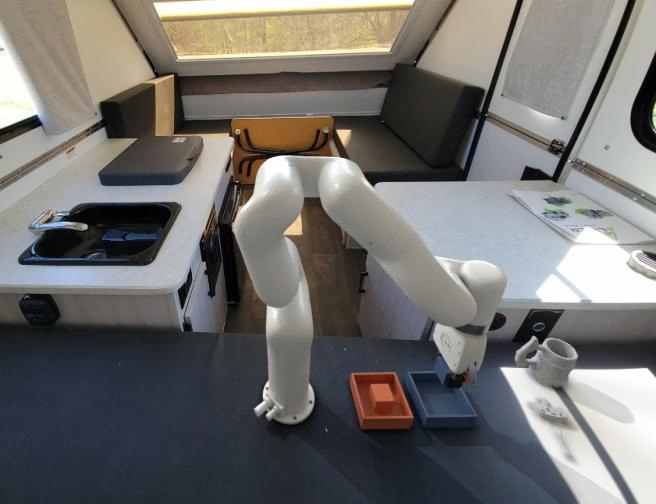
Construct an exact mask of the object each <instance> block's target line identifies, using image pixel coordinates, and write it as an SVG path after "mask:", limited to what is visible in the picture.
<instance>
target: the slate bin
mask: <svg viewBox="0 0 656 504" xmlns="http://www.w3.org/2000/svg"><path fill="white" fill-rule="evenodd" d="M404 384H405V386H406V388H407V391H408V393H409V396H410V398H411V400H412V403H413V406H414V408H415V410H416V413H417V415H418V418H419V420H420V423H421V425H422V427H423V429H437V428H438V429H441V428H442V429H443V428H474V426H475V424H476V422H477V420H478V418H479V416H478V414H477V412H476V410H475V409H474V407H473V405H472V404H471V402H470V400H469V398H468V396H467V395H466V393H465V391H464V390H463V388H462V387H463V386H462V387H461V388H459V389H454V388H447V387H446V385H442V383H441V381H440V379H439V377H438V376H437V374H436V372H435V370H430V371H429V370H428V371H427V370H426V371H425V370H423V371H421V370H419V371H407V372H406V376H405V379H404Z"/></svg>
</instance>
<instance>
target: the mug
mask: <svg viewBox="0 0 656 504" xmlns="http://www.w3.org/2000/svg"><path fill="white" fill-rule="evenodd" d="M535 351H536V353H535V355H534V356H533V357H531V358H526V357H527V355H528V354H530V353H533V352H535ZM578 359H579V354H578V352H577V351H576V349H575V348H574V347H573V346H572V345H571V344H569V343H568V342H566V341H564V340H562V339H559V338H554V337H549V338H545V339H544V341H543V343H542V344H540V342H539V339H538V338H537V337H536V336H535V335H532V336H531V338H530V340H529V341H527V342H526V343H525V344H524V345H522V346H521V347H520V348H519V349H517V350H516V352H515V355H514V361H515V364H516V366H517V368H519V369H520V368H526V367H528V370H529V372H530V374H531V376H532V377H533V378H534V379H536V380H537V381H539V383H541V384H543V385H545V386H547V387H550V388H552V387H553V388H562V387H564V386H565V385H567V383H568V382H569V379H570V377H569V376H570V374H571V372H572V371H574V369H575V368H576V363H577V360H578Z"/></svg>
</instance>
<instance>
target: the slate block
mask: <svg viewBox="0 0 656 504" xmlns="http://www.w3.org/2000/svg"><path fill="white" fill-rule="evenodd" d="M436 358H437V360H436V359H435V362H436V363H435V362H434V367H433V371H435V372H436V374H437V376H438V377H439V379H440V381H441V383H442V385H446V382H447V379H448V376H449V374H452V370H451V369H450V368H449V366H448V364H447V363H446V361H445V359H444V358H443V356H436Z"/></svg>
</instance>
